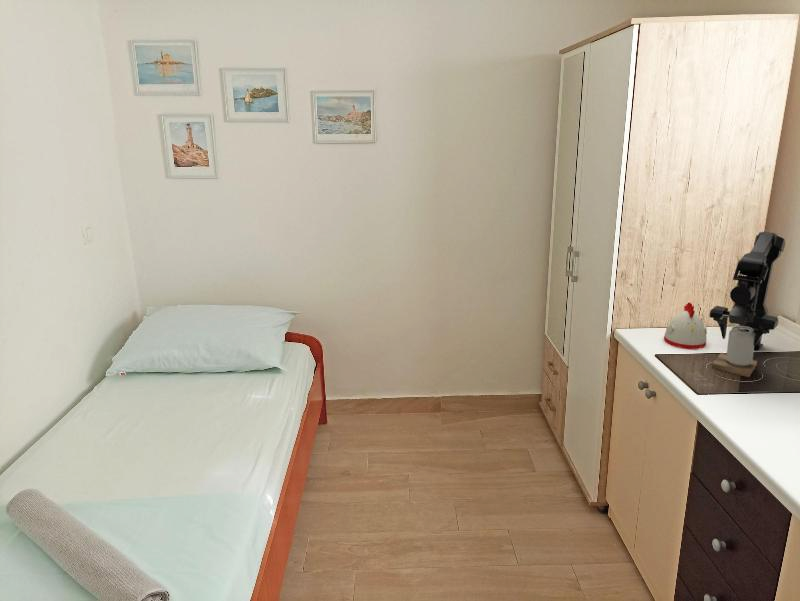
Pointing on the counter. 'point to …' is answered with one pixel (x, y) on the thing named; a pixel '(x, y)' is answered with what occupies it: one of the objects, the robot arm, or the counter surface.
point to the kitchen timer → (686, 330)
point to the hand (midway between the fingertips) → (739, 342)
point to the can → (740, 346)
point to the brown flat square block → (733, 366)
